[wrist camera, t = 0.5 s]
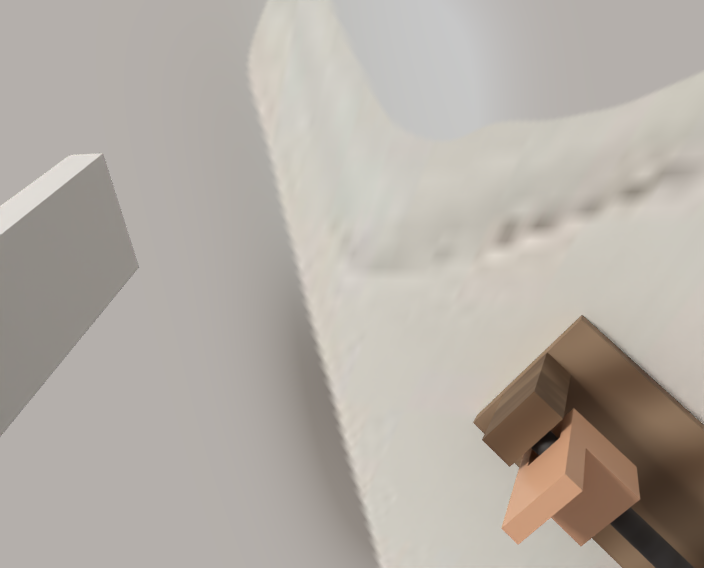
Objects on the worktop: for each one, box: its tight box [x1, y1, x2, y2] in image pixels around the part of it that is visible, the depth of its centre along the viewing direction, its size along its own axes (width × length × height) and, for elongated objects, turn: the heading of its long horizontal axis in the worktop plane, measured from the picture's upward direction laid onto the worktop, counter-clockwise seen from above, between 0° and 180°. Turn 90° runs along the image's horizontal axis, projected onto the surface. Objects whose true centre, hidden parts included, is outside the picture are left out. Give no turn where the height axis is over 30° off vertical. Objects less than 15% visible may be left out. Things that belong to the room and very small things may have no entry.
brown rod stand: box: [473, 315, 704, 568], centre depth 38 cm, size 22×10×10 cm, turn 49°
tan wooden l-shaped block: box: [502, 408, 640, 546], centre depth 34 cm, size 4×4×9 cm
